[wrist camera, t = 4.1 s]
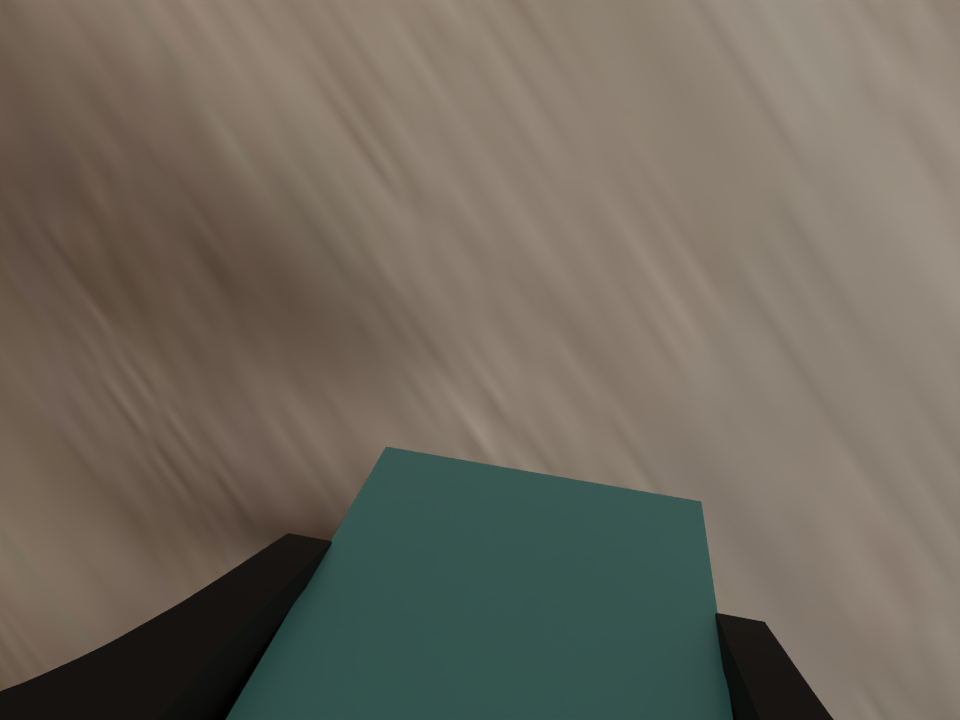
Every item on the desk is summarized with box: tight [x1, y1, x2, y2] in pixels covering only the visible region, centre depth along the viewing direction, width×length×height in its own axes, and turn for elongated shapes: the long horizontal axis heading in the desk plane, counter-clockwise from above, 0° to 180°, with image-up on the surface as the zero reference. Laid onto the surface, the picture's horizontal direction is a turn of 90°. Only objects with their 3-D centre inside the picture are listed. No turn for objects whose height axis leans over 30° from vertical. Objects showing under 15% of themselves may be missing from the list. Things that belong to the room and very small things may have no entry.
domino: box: [226, 447, 733, 720], centre depth 11 cm, size 2×5×9 cm, turn 83°
